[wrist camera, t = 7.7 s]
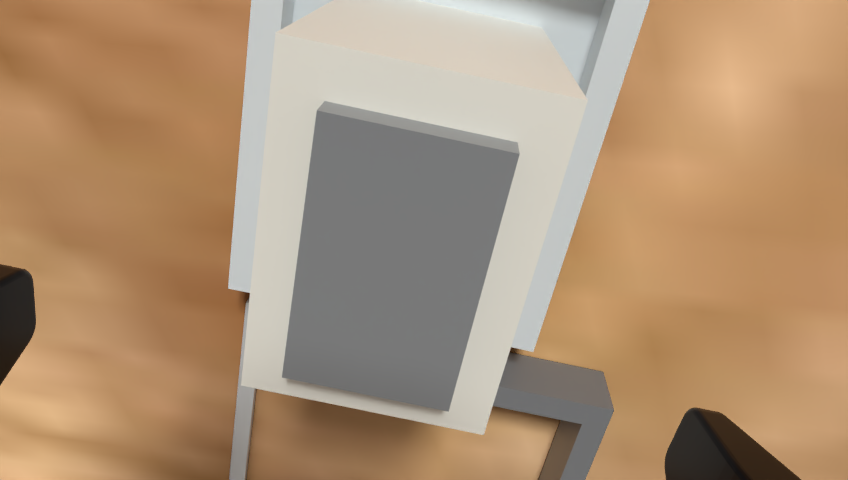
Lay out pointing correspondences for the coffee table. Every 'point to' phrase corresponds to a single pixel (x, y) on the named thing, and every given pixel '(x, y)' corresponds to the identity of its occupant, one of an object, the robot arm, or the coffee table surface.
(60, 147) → the coffee table surface
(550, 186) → the cream box grey panel
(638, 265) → the coffee table surface
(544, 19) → the tray
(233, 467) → the grey flat square frame
